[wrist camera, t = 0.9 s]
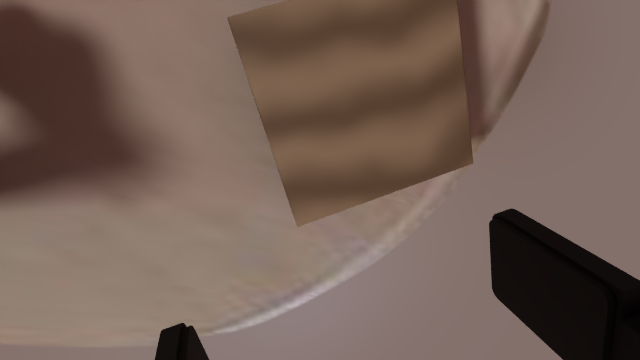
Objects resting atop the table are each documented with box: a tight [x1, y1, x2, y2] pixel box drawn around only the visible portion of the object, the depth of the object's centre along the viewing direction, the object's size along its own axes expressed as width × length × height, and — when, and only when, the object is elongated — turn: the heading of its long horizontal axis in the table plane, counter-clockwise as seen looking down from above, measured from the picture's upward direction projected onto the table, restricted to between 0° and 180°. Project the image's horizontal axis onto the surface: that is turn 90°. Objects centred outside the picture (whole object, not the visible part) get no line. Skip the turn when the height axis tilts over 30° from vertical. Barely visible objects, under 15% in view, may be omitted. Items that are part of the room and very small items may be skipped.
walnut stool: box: [228, 0, 473, 227], centre depth 34 cm, size 18×18×7 cm
